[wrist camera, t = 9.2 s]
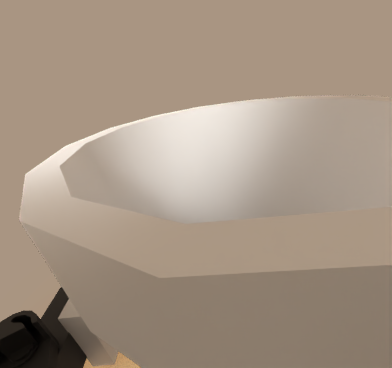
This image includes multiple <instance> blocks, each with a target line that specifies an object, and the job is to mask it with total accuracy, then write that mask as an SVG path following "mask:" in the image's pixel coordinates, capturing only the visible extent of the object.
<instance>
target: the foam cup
mask: <svg viewBox="0 0 392 368" xmlns="http://www.w3.org/2000/svg"><path fill="white" fill-rule="evenodd" d="M19 221H20V223H21V224H22V226H23V228H24V229H25V230H26V232H27V234H28V235H29V237H30V239H31V240H32V242H33V243H34V245H35V246H36V248H37V249H38V251H39V252H40V254H41V256H42V257H43V259H44V260H45V262H46V263H47V265H48V266H49V268H50V270H51V271H52V273H53V274H54V276H55V277H56V279H57V280H58V282H59V283H60V285H61V287H62V288H63V290H64V291H65V293H66V294H67V296H68V297H69V299H70V301H71V302H72V304H73V305H74V307H75V308H76V310H77V311H78V313H79V315H80V316H81V318H82V319H83V321H84V322H85V324H86V325H87V327H88V328H89V330H90V332H92V333H93V334H95V335H96V336H98V337H99V338H100V339H102V340H103V341H105V342H106V343H108V344H109V345H110V346H112V347H113V348H115V349H116V350H117V351H119V352H120V353H122V354H123V355H125V356H126V357H127V358H129V359H130V360H132V361H133V362H135V363H136V364H137V365H139V366H140V367H142V368H392V97H385V96H366V95H333V96H295V97H282V98H269V99H258V100H245V101H239V102H231V103H223V104H216V105H209V106H202V107H196V108H191V109H186V110H181V111H176V112H171V113H166V114H161V115H156V116H152V117H149V118H145V119H141V120H138V121H134V122H131V123H126V124H123V125H119V126H116V127H112V128H109V129H107V130H104V131H102V132H99V133H97V134H94V135H92V136H89V137H87V138H84V139H82V140H79V141H77V142H74V143H72V144H69V145H67V146H65V147H63V148H62V149H61V150H59V151H58V152H56V153H55V154H53V155H52V156H51V157H49V158H48V159H46V160H45V161H43V162H42V163H41V164H39V165H38V166H37V167H35V168H34V169H32V170H31V171H29V172H28V173H26V174H25V180H24V187H23V194H22V202H21V209H20V217H19Z"/></svg>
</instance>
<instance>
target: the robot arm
mask: <svg viewBox="0 0 392 368" xmlns="http://www.w3.org/2000/svg"><path fill="white" fill-rule="evenodd" d="M117 354H118V351H117V350H116V349H115V348H113V347H112V346H110V345H109V344H108V343H106V342H105V341H103V340H102V339H100V338H99V337H98V336H96V335H95V334H93V333H92V332H90V330H89V328H88V327H87V325H86V324H85V322H84V321H83V319H82V318H81V316H80V315H79V313H78V311H77V310H76V308H75V307H74V305H73V304H72V302H71V301H70V299H69V297H68V296H67V294H66V293H65V291H64V290H63V288H62V287H61V288H60V289H59V291H58V292H57V294H56V296H55V297H54V299H53V300H52V302H51V304H50V305H49V307H48V308H47V310H46V312H45V313H44V315H43V316H42V318H41V319H40V318H39V317H38V316H37V315H36V314H35V313H34V312H32V311H21V312H18V313H16V314H13V315H11V316H10V317H8V318H6V319H5V320H3V321H1V322H0V368H83V366H84V364H85V361H86V358H87V359H88V360H89V362H90V363H91V364H92V366H101V365H112V364H115V361H116V357H117Z"/></svg>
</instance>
